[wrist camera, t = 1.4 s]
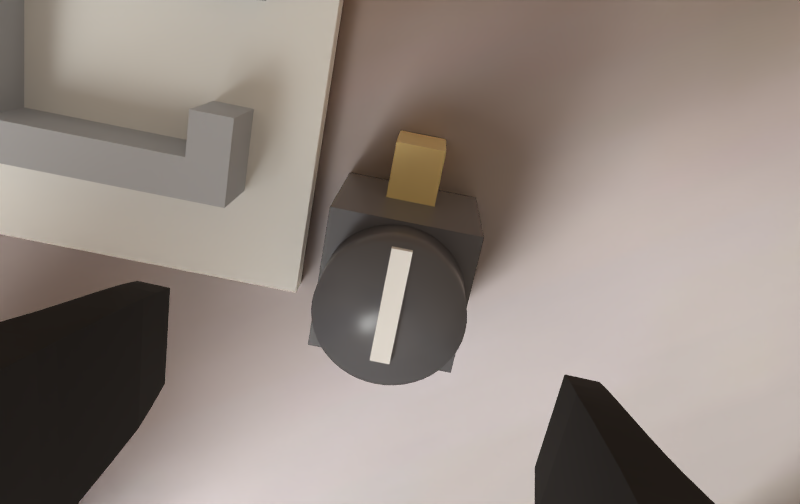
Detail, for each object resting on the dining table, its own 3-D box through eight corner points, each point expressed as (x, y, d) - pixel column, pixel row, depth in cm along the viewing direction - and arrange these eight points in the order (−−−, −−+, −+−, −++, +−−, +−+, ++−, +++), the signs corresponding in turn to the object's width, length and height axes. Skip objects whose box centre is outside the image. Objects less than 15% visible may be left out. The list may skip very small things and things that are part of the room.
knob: (448, 312, 22) (451, 405, 17) (330, 289, 22) (295, 374, 17) (487, 147, 20) (504, 193, 15) (358, 121, 20) (329, 158, 15)
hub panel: (300, 283, 22) (281, 319, 19) (-58, 212, 22) (-126, 238, 19) (374, -204, 17) (362, -244, 15) (-79, -297, 17) (-172, -354, 15)
